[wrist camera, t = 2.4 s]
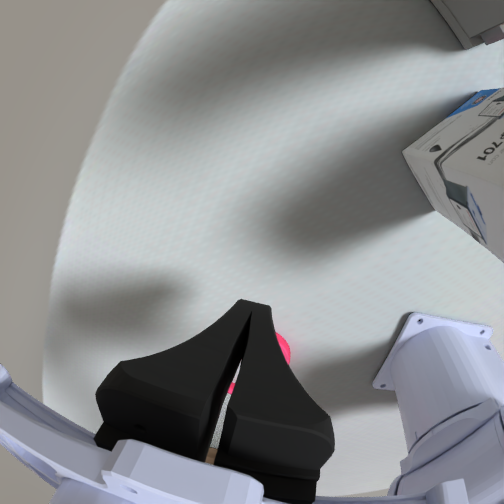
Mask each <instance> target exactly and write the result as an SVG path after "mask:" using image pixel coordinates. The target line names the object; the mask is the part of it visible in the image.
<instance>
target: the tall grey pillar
mask: <svg viewBox="0 0 504 504" xmlns="http://www.w3.org/2000/svg"><path fill="white" fill-rule="evenodd" d="M430 1H431V2H432V3H433V4H434V6H435V7H436V8H437V9H438V11H439V12H440V13H441V15H442V16H443V18H444V19H445V20H446V22H447V23H448V24H449V26H450V27H451V29H452V30H453V32H454V33H455V35H456V36H457V38H458V39H459V41H460V42H461V44H462V45H463V47H464V49H465V50H467V49H469V48H472V47H474V46H477V45H479V44H482V43H484V42H485V44H486V45H488V44H491V43H494V42H496V41H499V40H501V39H504V0H430Z"/></svg>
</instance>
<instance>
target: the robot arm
mask: <svg viewBox="0 0 504 504" xmlns="http://www.w3.org/2000/svg"><path fill="white" fill-rule="evenodd" d="M419 319H421V321H418V320H419ZM417 321H418V322H417ZM492 334H493V328H492V327H491V326H485V325H480V324H474V323H469V322H463V321H458V320H453V319H447V318H442V317H437V316H432V315H426V314H421V313H412V314H410V315H409V317H408V319H407V321H406V323H405V325H404V327H403V329H402V331H401V333H400V335H399V337H398V338H397V340H396V342H395V344H394V346H393V348H392V350H391V351H390V353H389V355H388V357H387V359H386V360H385V362H384V364H383V366H382V367H381V369H380V371H379V372H378V374H377V376H376V377H375V379H374V381H373V383H372V385H373V388H375V389H382V390H392V391H395V393H396V397H397V401H398V405H399V410H400V414H401V419H402V423H403V428H404V433H405V438H406V444H407V449H408V456H407V457H406V458H405V459H403V460H401V461H400V466H401V473H402V474H401V475H399V476H398V477H396V478H395V480H394V481H393V482H392V484H391V485H390V488H389V491H388V495H387V496H382V497H325V496H316V482H317V481H318V480H319V478H320V468H321V467H322V466H323V465H324V464H325V463H326V462H327V460H328V459H329V458H330V457H331V456H332V454H333V452H334V447H335V439H334V432H333V427H332V422H331V418H330V416H329V415H328V414H327V413H326V412H325V411H324V410H323V409H321V408H320V407H319V406H318V405H317V404H316V403H315V402H314V401H313V400H312V398H311V397H310V396H309V395H308V394H307V393H306V391H305V390H304V388H303V387H302V386H301V384H300V383H299V381H298V380H297V379H296V377H295V375H294V374H293V372H292V370H291V369H290V367H289V365H288V363H287V361H286V359H285V357H284V354H283V352H282V350H281V347H280V345H279V342H278V339H277V336H276V332H275V329H274V325H273V320H272V312H271V307H270V306H268V305H264V304H260V303H256V302H251V301H247V300H243V299H240V300H238V301H237V302H236V303H235V304H234V306H233V307H232V308H231V309H230V310H228V311H227V312H226V313H225V314H224V315H223V316H222V317H221V318H219V319H218V320H217V321H216V322H215V323H213V324H212V325H211V326H209V327H208V328H206V329H205V330H204V331H202V332H201V333H199V334H198V335H196V336H194V337H193V338H191V339H189V340H187V341H185V342H183V343H181V344H179V345H177V346H175V347H173V348H170V349H168V350H165V351H162V352H159V353H156V354H153V355H150V356H146V357H142V358H137V359H131V360H126V361H120V362H119V363H118V365H117V366H116V367H115V368H113V369H112V371H111V372H110V373H109V374H108V375H107V377H106V378H105V379H104V381H103V382H102V383H101V385H100V386H99V387H98V389H97V391H96V394H95V395H96V401H97V404H98V407H99V410H100V413H101V415H102V418H103V421H104V422H103V424H102V425H101V427H100V429H99V430H98V432H97V433H96V434H94V433H92V432H90V431H88V430H86V429H85V428H83V427H81V426H79V425H77V424H75V423H74V422H72V421H70V420H68V419H67V418H65V417H63V416H62V415H60V414H58V413H57V412H55V411H54V410H52V409H50V408H49V407H47V406H46V405H44V404H43V403H41V402H40V401H38V400H37V399H35V398H34V397H32V396H31V395H29V394H28V393H27V392H25V391H24V390H23V389H21V388H20V387H18V386H17V385H16V384H14V383H13V382H12V379H11V376H10V374H9V373H8V371H7V370H6V368H5V367H4V366H3V365H2V364H0V444H1V445H2V446H3V447H4V448H5V449H6V450H8V451H9V452H10V453H11V454H12V455H13V456H14V457H16V458H17V459H18V460H19V461H20V462H22V463H23V464H24V465H25V466H26V467H28V468H29V469H30V470H31V471H33V472H34V473H35V474H37V475H38V476H39V477H41V478H42V479H43V480H44V481H46V482H47V483H49V484H50V485H52V486H53V487H54V488H56V489H57V490H56V492H55V494H54V495H53V497H52V499H51V500H50V502H49V504H504V361H503V360H502V358H501V356H500V355H499V353H498V352H497V350H496V349H495V347H494V346H493V344H492V343H491V341H490V340H489V339H490V337H491V336H492ZM241 359H242V360H241ZM240 362H241V365H240V371H239V374H238V377H237V380H236V383H235V386H234V389H233V392H232V394H231V397H230V400H229V403H228V405H227V410H226V415H225V419H224V424H223V429H222V434H221V438H220V443H219V447H218V450H217V453H216V456H215V460H214V465H211V464H207V463H205V461H206V458H207V454H208V451H209V448H210V444H211V441H212V438H213V434H214V431H215V428H216V425H217V421H218V418H219V415H220V412H221V408H222V405H223V402H224V400H225V397H226V395H227V393H228V390H229V388H230V385H231V383H232V381H233V378H234V376H235V374H236V371H237V369H238V366H239V364H240ZM382 384H383V385H382Z"/></svg>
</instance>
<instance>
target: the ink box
mask: <svg viewBox="0 0 504 504" xmlns="http://www.w3.org/2000/svg"><path fill="white" fill-rule="evenodd" d="M402 154H403V156H404V158H405V160H406V162H407V164H408V166H409V167H410V169H411V171H412V173H413V175H414V176H415V178H416V180H417V181H418V183H419V185H420V187H421V188H422V190H423V192H424V193H425V195H426V197H427V198H428V200H429V201H430V203H431V205H432V207H433V208H434V209H435V210H436V211H437V212H439V213H440V214H442V215H443V216H444V217H446V218H447V219H449V220H450V221H452V222H453V223H454V224H456V225H457V226H459V227H460V228H461V229H463V230H464V231H465V232H467V233H468V234H469V235H470V236H472V237H473V238H474V239H475V240H476V241H478V242H479V243H480V244H481V245H483V246H484V247H485V248H487V249H488V250H489V251H490V252H491V253H492V254H494V255H495V256H496V257H497V258H498V259H500V260H501V261H502V262H503V263H504V88H499V89H490V90H481V91H479V92H478V93H477V94H476V95H474V96H473V97H472V98H471V99H469V100H468V101H467V102H466V103H464V104H463V105H462V106H460V107H459V108H458V109H457V110H455V111H454V112H453V113H452V114H450V115H449V116H448V117H447V118H445V119H444V120H443V121H442V122H440V123H439V124H438V125H436V126H435V127H434V128H432V129H431V130H430V131H428V132H427V133H426V134H424V135H423V136H422V137H420V138H419V139H418V140H417V141H415V142H414V143H413V144H411V145H410V146H409V147H407V148H406V149H404V150H403V152H402Z"/></svg>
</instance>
